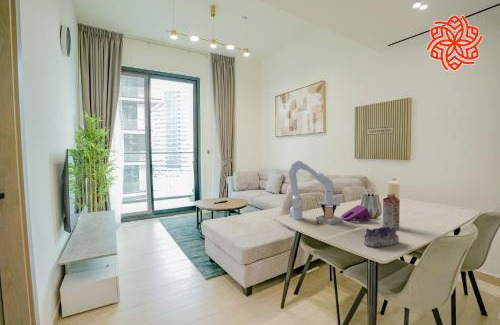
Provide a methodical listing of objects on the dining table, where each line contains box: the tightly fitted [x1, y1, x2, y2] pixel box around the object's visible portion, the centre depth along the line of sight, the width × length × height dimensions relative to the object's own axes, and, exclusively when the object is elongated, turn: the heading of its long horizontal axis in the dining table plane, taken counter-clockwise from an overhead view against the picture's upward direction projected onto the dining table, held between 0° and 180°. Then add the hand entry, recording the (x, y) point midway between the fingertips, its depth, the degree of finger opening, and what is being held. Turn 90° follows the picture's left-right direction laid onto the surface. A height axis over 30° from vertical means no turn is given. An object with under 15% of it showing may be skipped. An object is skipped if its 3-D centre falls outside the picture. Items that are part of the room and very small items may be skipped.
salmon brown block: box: [325, 205, 333, 220], centre depth 168 cm, size 5×5×8 cm
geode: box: [363, 225, 400, 249], centre depth 129 cm, size 20×12×10 cm, turn 114°
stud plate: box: [309, 218, 327, 227], centre depth 163 cm, size 9×9×4 cm
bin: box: [315, 214, 343, 226], centre depth 168 cm, size 13×12×4 cm
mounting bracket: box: [340, 204, 371, 223], centre depth 171 cm, size 10×9×19 cm
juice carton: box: [382, 193, 401, 230], centre depth 154 cm, size 7×7×22 cm
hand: (328, 215), depth 168 cm, fingers closed on salmon brown block, 5 cm apart
